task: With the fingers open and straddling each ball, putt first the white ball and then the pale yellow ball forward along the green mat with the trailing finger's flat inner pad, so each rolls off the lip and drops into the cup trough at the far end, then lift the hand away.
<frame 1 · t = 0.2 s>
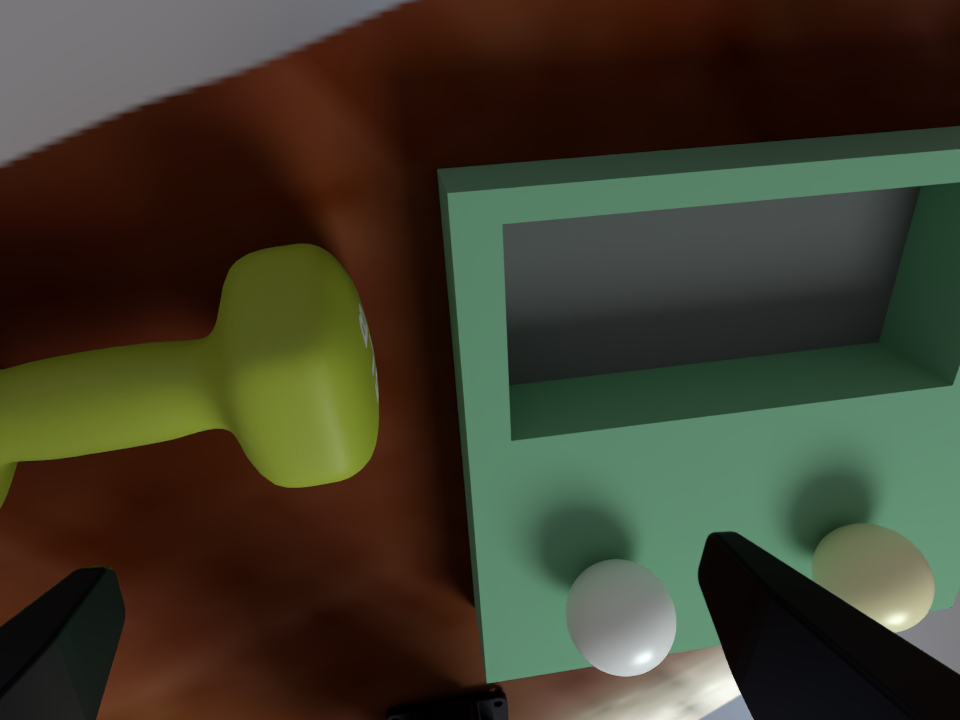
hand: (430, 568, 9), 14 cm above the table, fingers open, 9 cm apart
dumbbell: (149, 347, 22), on the table
putting mat: (713, 399, 26), on the table
white ball: (619, 615, 23), point 6 cm above the table, touching putting mat
yellow ball: (870, 576, 23), point 6 cm above the table, touching putting mat
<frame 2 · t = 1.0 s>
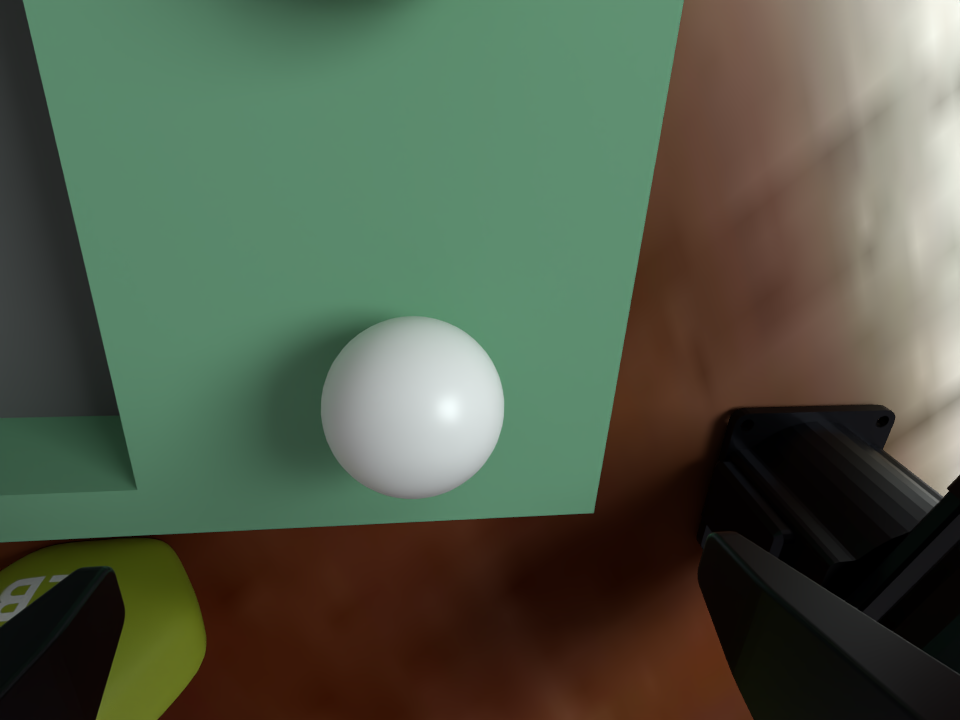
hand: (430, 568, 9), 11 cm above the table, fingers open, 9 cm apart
dumbbell: (154, 673, 25), on the table
putting mat: (208, 86, 15), on the table
white ball: (414, 406, 13), point 6 cm above the table, touching putting mat
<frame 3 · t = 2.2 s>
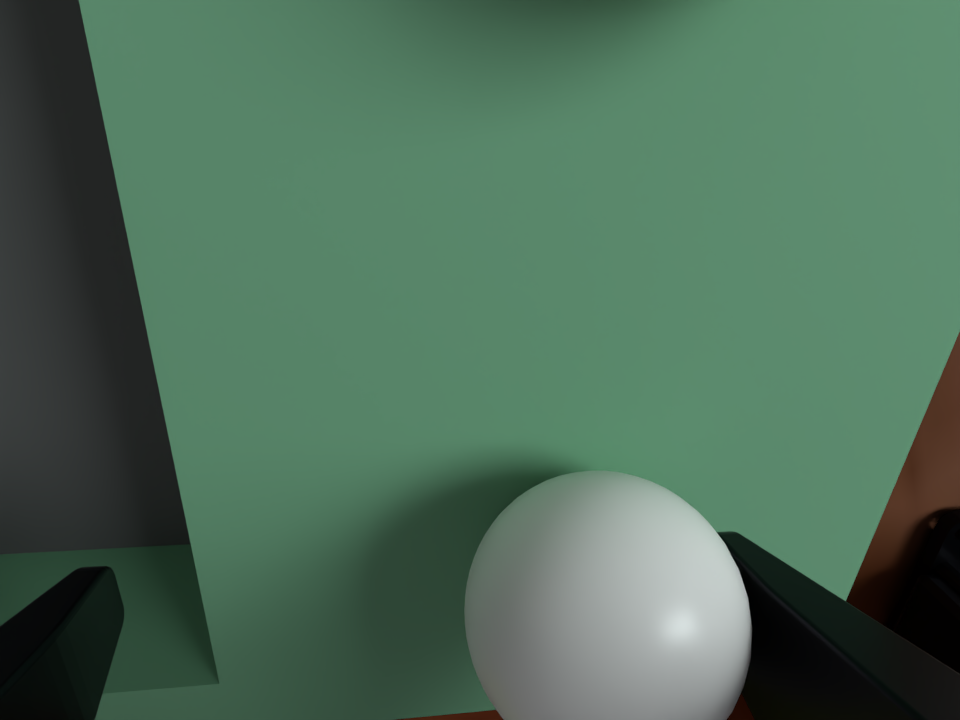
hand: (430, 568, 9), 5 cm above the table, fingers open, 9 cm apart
putting mat: (318, 121, 11), on the table
white ball: (601, 609, 9), point 6 cm above the table, tilted 20°, touching putting mat
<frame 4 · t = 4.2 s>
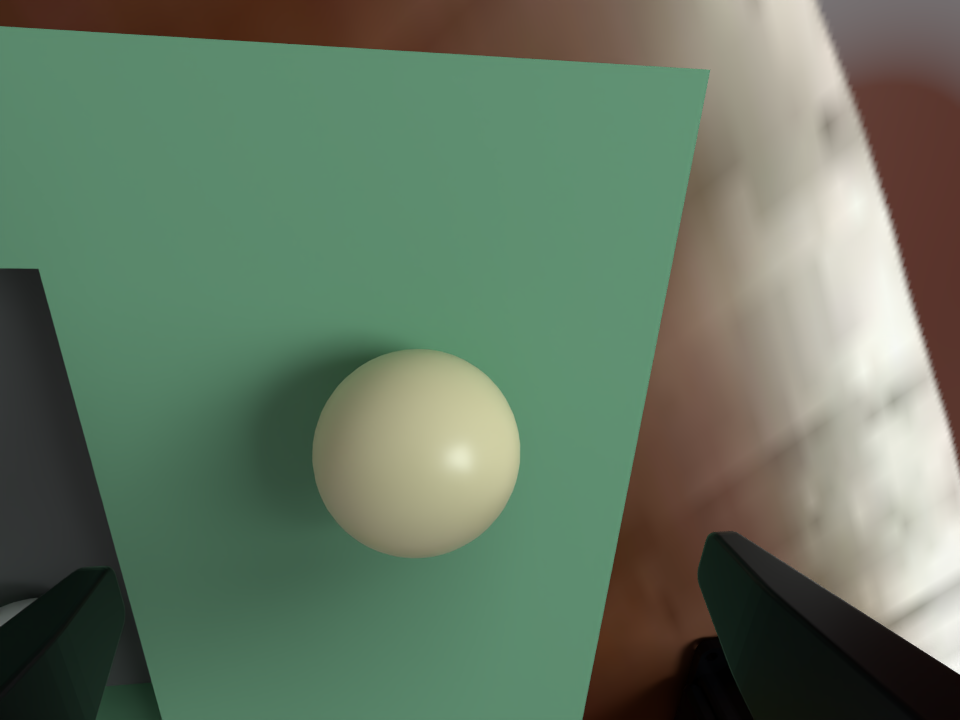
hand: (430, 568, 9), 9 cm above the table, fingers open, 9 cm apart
putting mat: (240, 453, 18), on the table
white ball: (25, 670, 18), point 2 cm above the table, tilted 8°, touching putting mat
yellow ball: (418, 450, 12), point 6 cm above the table, touching putting mat
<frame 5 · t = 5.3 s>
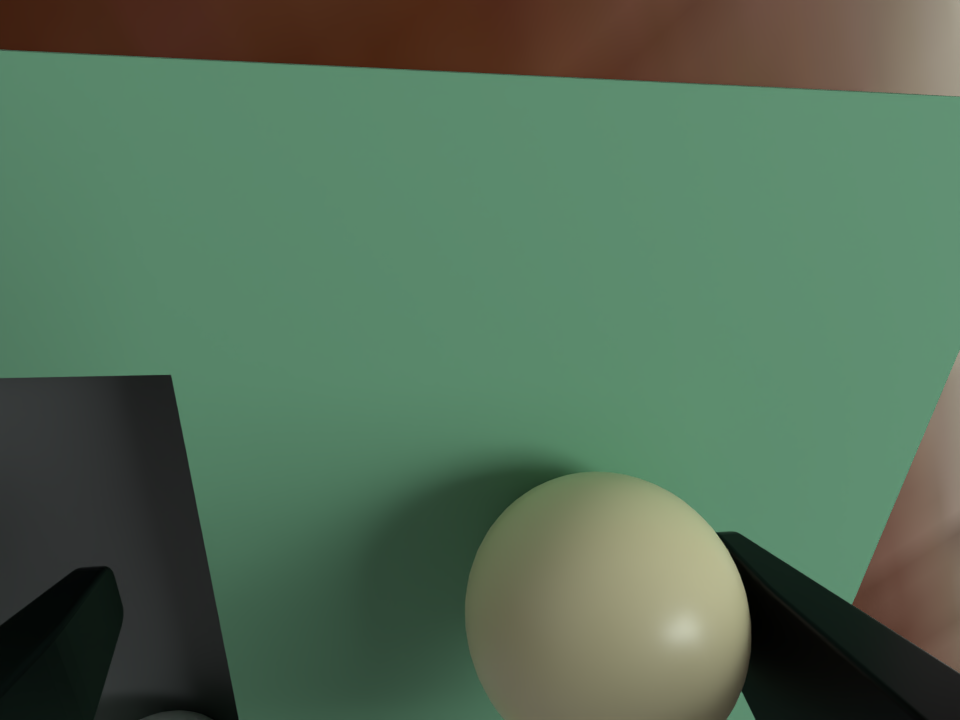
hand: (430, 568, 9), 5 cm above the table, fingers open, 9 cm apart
putting mat: (353, 547, 15), on the table
yellow ball: (601, 610, 9), point 6 cm above the table, tilted 26°, touching putting mat
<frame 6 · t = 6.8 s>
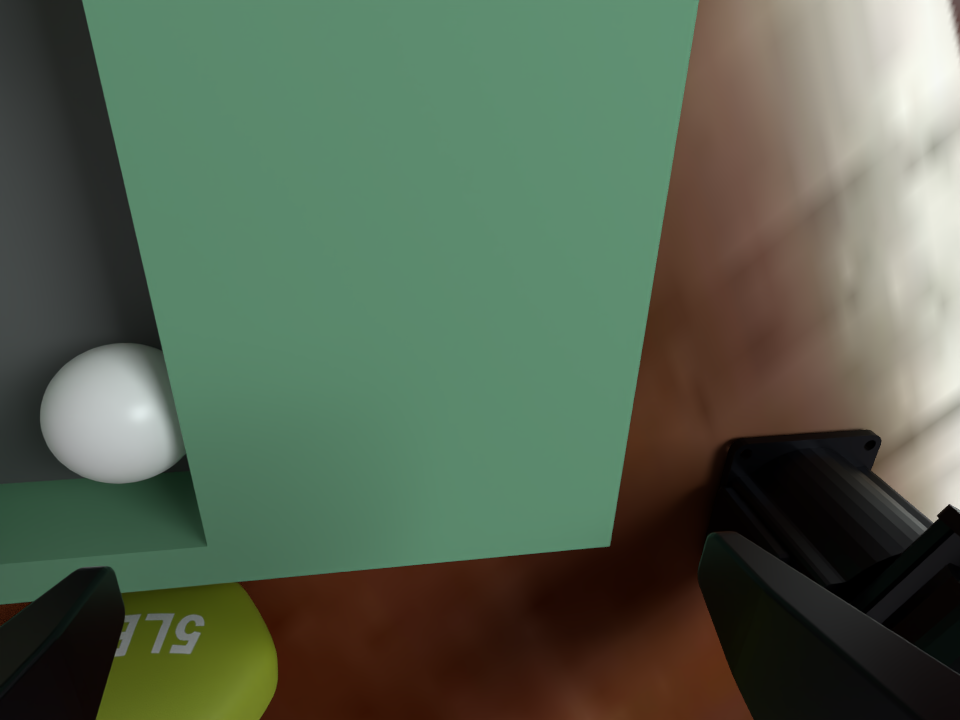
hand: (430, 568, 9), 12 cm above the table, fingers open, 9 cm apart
dumbbell: (203, 695, 27), on the table
putting mat: (257, 187, 17), on the table
white ball: (126, 412, 17), point 2 cm above the table, tilted 73°, touching putting mat
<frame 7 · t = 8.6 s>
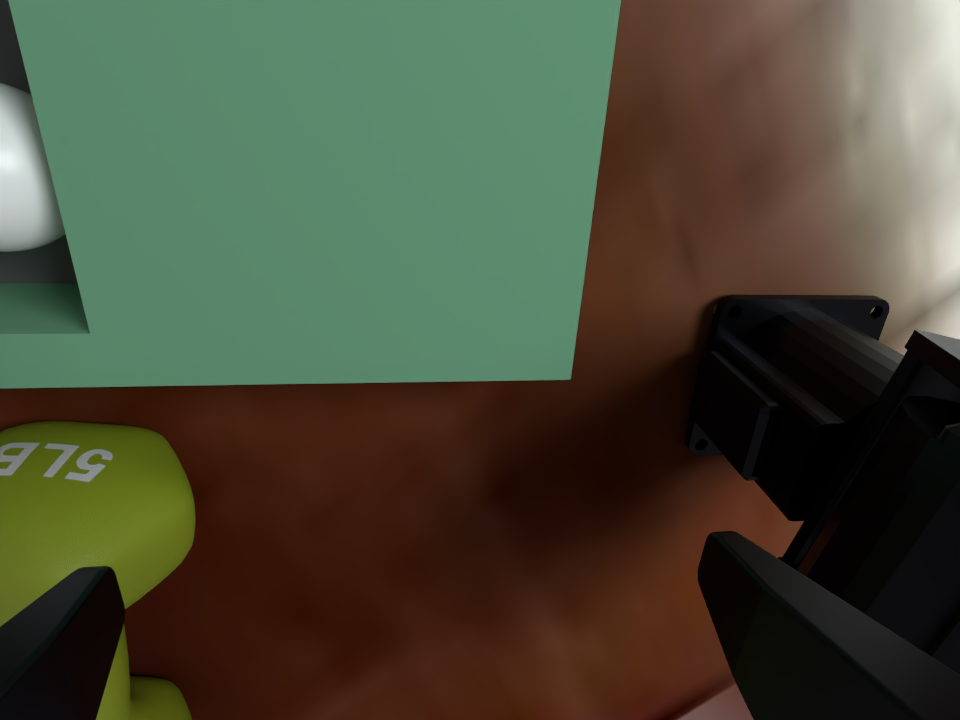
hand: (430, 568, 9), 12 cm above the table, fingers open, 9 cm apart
dumbbell: (119, 579, 24), on the table
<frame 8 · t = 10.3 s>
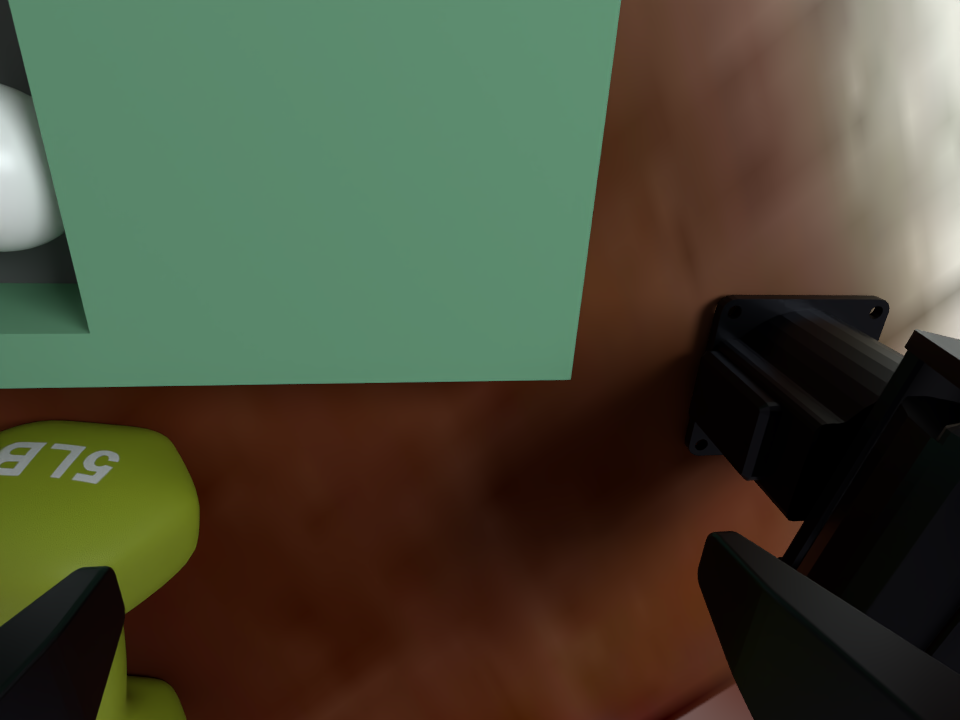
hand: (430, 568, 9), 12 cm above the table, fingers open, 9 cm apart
dumbbell: (118, 579, 24), on the table
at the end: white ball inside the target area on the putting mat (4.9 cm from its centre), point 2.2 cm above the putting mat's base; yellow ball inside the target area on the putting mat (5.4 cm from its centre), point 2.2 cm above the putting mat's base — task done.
